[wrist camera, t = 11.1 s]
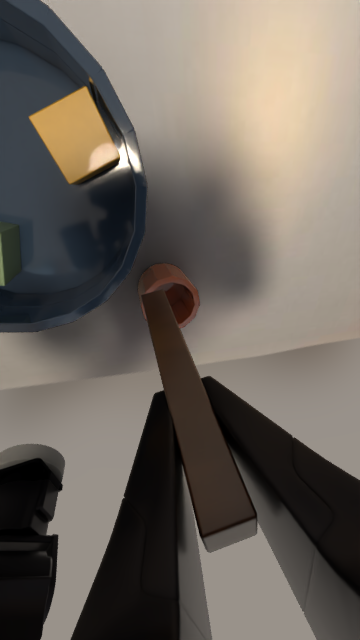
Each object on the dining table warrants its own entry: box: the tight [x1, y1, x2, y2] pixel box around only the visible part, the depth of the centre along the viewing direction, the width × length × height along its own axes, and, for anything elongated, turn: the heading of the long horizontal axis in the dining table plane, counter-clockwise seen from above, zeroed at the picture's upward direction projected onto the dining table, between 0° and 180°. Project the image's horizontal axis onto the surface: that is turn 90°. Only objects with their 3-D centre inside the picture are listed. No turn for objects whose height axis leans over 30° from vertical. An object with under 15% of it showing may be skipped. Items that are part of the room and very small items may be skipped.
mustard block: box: [29, 86, 120, 185], centre depth 13 cm, size 3×3×3 cm
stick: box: [141, 289, 257, 553], centre depth 9 cm, size 1×1×10 cm
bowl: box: [0, 0, 148, 332], centre depth 13 cm, size 14×14×5 cm
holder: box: [138, 263, 200, 328], centre depth 19 cm, size 4×4×4 cm
